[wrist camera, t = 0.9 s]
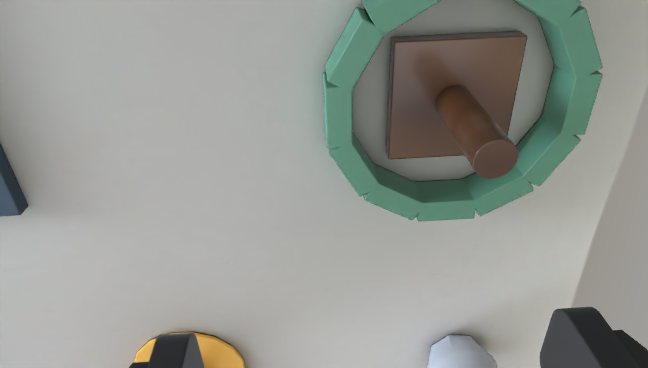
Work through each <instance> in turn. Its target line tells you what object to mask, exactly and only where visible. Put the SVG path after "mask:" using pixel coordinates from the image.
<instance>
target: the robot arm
mask: <svg viewBox="0 0 648 368" xmlns="http://www.w3.org/2000/svg"><path fill="white" fill-rule="evenodd" d="M540 365H541V368H648V350H647V349H646V348H645V347H643V346H642V345H641V344H639V343H638V342H637V341H635V340H634V339H633V338H631V337H630V336H629V335H628V334H626V333H625V332H624V331H623V330H612V329H611V327H610V326H609V325H608V323H607V322H606V321H605V319H604V318H603V317H602V315H601V314H600V313H599V311H597V310H596V309H595V308H593V307H579V308H565V309H556V310H555V311H554V312H553V314H552V317H551V320H550V324H549V327H548V330H547V333H546V336H545V339H544V343H543V346H542V349H541V352H540ZM129 368H205V367H204V363H203V359H202V356H201V352H200V348H199V345H198V341H197V337H196V335H195V333H181V334H166V335H159V336H158V337H157V339H156V341H155V344H154V347H153V350H152V353H151V356H150V360H149V362H136V363H132V365H131V366H130V367H129Z"/></svg>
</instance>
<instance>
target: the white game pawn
mask: <svg viewBox="0 0 648 368" xmlns="http://www.w3.org/2000/svg"><path fill="white" fill-rule="evenodd" d="M427 368H497V364H496V361H495V360H494V358H493V356H491V355H490V354H489V353H488V352H486V351H485V350H484V349H483V348H481V347H480V346H479V345H478V344H477V343H476V342H475V341H474V340H473V339H472V338H471V337H470V336H461V335H448V336H446V337H445V338H443V339H442V340H440V341H439V342H437V343H435V344H434V345H432V346H431V350H430V356H429V362H428V366H427Z"/></svg>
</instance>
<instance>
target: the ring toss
mask: <svg viewBox="0 0 648 368" xmlns="http://www.w3.org/2000/svg"><path fill="white" fill-rule="evenodd" d="M526 41H527V35H525V34H524V33H522V32H520V31H511V32H490V33H469V34H447V35H426V36H405V37H392V38H391V54H390V76H389V97H388V119H387V141H386V153H387V156H388V158H389V159H404V158H422V157H441V156H459V155H465V156H466V158H467V159H468V161H469V162H470V164H471V165H472V167H473V169H474V170H475V172H476V173H477V174H478V175H479V176H481V177H484V178H488V179H493V178H498V177H501V176H503V175H505V174H507V173H508V172H509V171H511V170H512V169H513V167H514V166H515V164H516V162H517V159H518V150H517V148H516V146H515V145H514V143H513V142H512V141H511V140H510V139H509V138H508V136H507V135H508V130H509V125H510V120H511V115H512V110H513V105H514V100H515V95H516V90H517V85H518V81H519V76H520V71H521V66H522V61H523V56H524V51H525V46H526Z"/></svg>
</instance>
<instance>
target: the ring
mask: <svg viewBox="0 0 648 368" xmlns="http://www.w3.org/2000/svg"><path fill="white" fill-rule="evenodd" d="M439 1H441V0H363V1H362V4H363V6H364V7H365V9H366V11H367V13H366V12H365V11H363V10H361V9H359V8H356V9H355V11H354V13H353V15H352V16H351V18H350V20H349V22H348V24H347V26H346V27H345V29H344V31H343V33H342V35H341V37H340V38H339V40H338V42H337V44H336V46H335V48H334V50H333V51H332V53H331V55H330V57H329V59H328V61H327V62H326V64H325V69H326V72H324V73H323V91H324V120H325V134H326V142H327V147H328V148H329V154H330V156H331V157H332V158H333V160H334V161H335V163H336V164H337V165H338V167H339V168H340V170H341V171H342V172H343V174H344V175H345V177H346V178H347V179H348V181H349V182H350V184H351V185H352V186H353V188H354V189H355V191H356V192H357V193H358V195H359V196H362V195H363V196H364V200H365V201H368V202H370V203H372V204H375V205H377V206H380V207H382V208H384V209H387V210H389V211H391V212H394V213H396V214H398V215H401V216H403V217H406V218H408V219H410V220H413V219H414V218H415V217H417V219H418V221H435V220H452V219H469V218H474V215H475V210H476V211H477V213H478V215H479V216H482V215H484V214H486V213H488V212H490V211H492V210H494V209H496V208H498V207H500V206H502V205H505V204H507V203H509V202H511V201H513V200H515V199H517V198H519V197H521V196H523V195H525V194H527V193H529V192H531V191H533V187H532V185H531V183H533V184H535V185H537V186H540V185H541V184H542V183H543V182H544V181H545V179H546V178H547V177H548V176H549V175H550V174H551V173H552V172H553V171H554V169H555V168H556V167H557V166H558V165H559V164H560V163H561V162H562V161H563V160H564V158H565V157H566V156H567V155H568V154H569V153H570V152H571V151H572V150H573V148H574V147H575V146H576V145H577V144H578V143H579V142H580V141H581V140H580V138H578V137H577V136H576V135H582V134H585V131H586V128H587V125H588V121H589V118H590V115H591V111H592V108H593V105H594V102H595V98H596V95H597V92H598V88H599V85H600V82H601V78H602V75H603V74H602V73H600V72H598V71H597V70H599V69H601V68H602V63H601V60H600V56H599V53H598V49H597V46H596V42H595V39H594V36H593V32H592V29H591V25H590V22H589V18H588V15H587V11H586V8H584V7H582V6H579V5H580V3H581V2H580V1H579V0H514V1H515V2H517V3H518V4H520V5H522V6H523V7H525V8H526V9H528V10H529V11H531V12H532V13H534V14H536V15H537V16H538V18H539V21H540V24H541V27H542V30H543V32H544V35H545V38H546V41H547V44H548V47H549V50H550V52H551V55H552V58H553V61H554V68H553V72H552V76H551V81H550V85H549V89H548V93H547V97H546V101H545V105H544V110H543V114H542V116H541V117H540V118H539V120H538V121H537V122H536V123H535V124H534V126H533V127H532V128H531V129H530V130H529V132H528V133H527V134H526V135H525V137H524V138H523V139H522V140H521V141H520V143H519V144H518V145H517V146H516V148H517V150H518V159H517V162H516V164H515V166H514V167H513V169H512V170H511V171H509V172H508V173H507V174H505V175H503V176H501V177H498V178H493V179H488V178H484V177H481V176H479V175H478V174H477V173H474V174H472V175H470V176H468V177H466V178H464V179H459V180H442V181H424V182H413V181H411V180H409V179H406V178H404V177H402V176H400V175H398V174H395V173H393V172H391V171H389V170H387V169H384V168H382V167H380V166H378V165H376V164H373V162H372V161H371V159H370V158H369V156H368V155H367V153H366V151H365V150H364V148H363V147H362V145H361V144H360V142H359V141H358V139H357V138H356V136H355V135H354V133H353V132H352V90H353V88H354V86H355V84H356V83H357V81H358V79H359V78H360V76H361V74H362V73H363V71H364V69H365V67H366V66H367V64H368V62H369V61H370V59H371V57H372V56H373V54H374V52H375V51H376V49H377V47H378V45H379V44H380V42H381V40H382V39H383V37H384V35H386V34H387V33H389V32H391V31H392V30H394V29H395V28H397V27H399V26H400V25H402V24H403V23H405V22H407V21H408V20H410V19H412V18H413V17H415V16H416V15H418V14H420V13H421V12H423V11H424V10H426V9H428V8H429V7H431V6H432V5H434V4H436V3H437V2H439ZM530 182H531V183H530Z"/></svg>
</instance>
